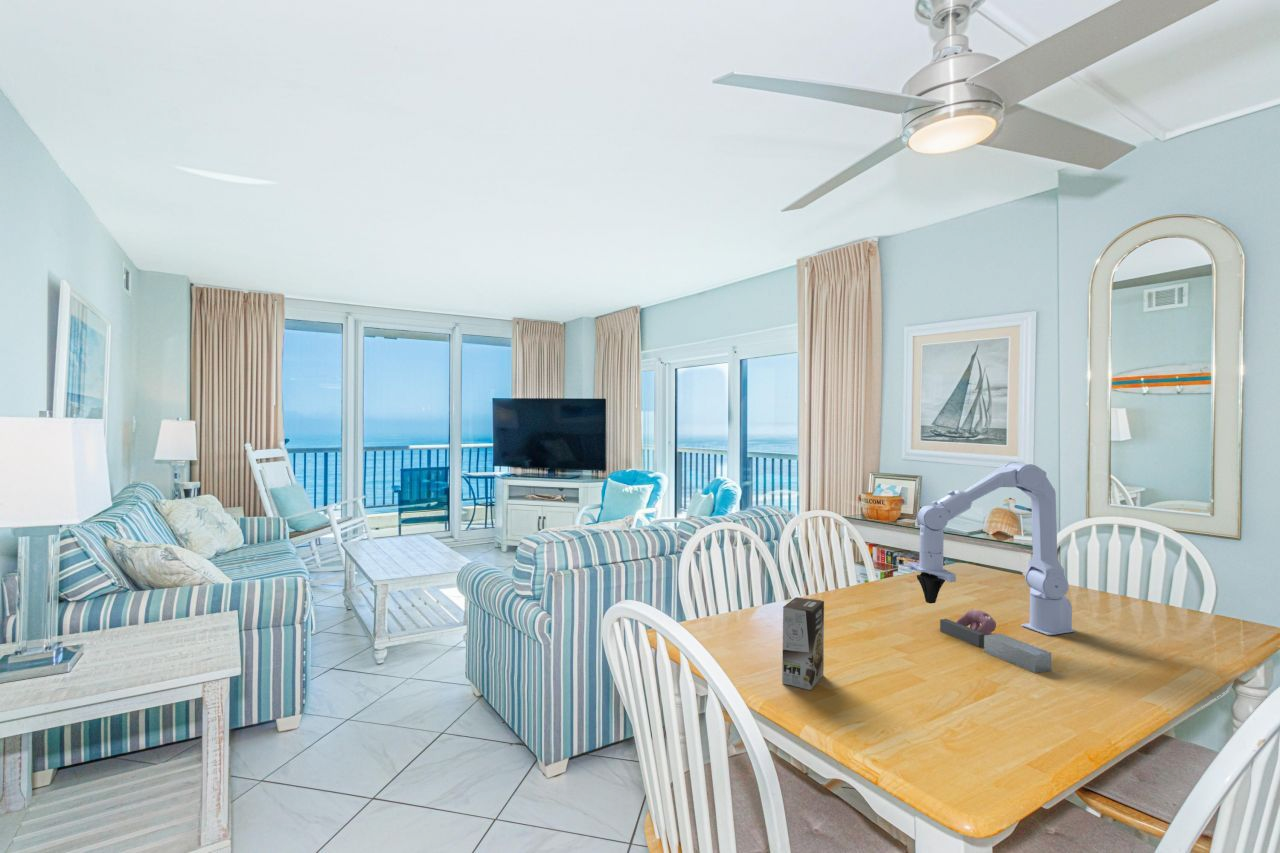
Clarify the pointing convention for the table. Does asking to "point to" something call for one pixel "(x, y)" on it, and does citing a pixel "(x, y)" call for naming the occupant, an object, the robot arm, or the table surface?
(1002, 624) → the table surface
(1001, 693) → the table surface
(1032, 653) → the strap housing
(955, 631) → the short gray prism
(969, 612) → the video game controller
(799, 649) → the coffee box
